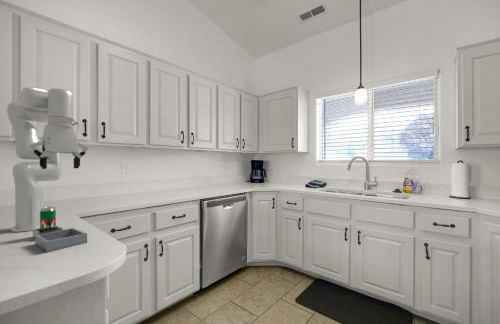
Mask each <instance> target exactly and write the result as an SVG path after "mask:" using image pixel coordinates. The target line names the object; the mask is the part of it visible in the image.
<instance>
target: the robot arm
mask: <svg viewBox="0 0 500 324" xmlns="http://www.w3.org/2000/svg"><path fill="white" fill-rule="evenodd" d="M19 100H20V101H11V102H10V103H8V105H7V106H6V107H7V108H6V113H7V118H8V121H9V123H10V125H11V127H12V129H13V131H14V144H15V145H14V146H15V153H16V156H17V158H18V159H20V160H30V161H20V162H18V163H16V164H14V165H13V167H12V176H13V180H14V181H13V182H14V197H15V199H14V200H15V202H14V203H15V204H14V207H15V208H14V211H15V212H14V215H15V216H14V217H15V218H14V223H15V224H14V226H12V227H10V230H9V231H10V232H13V233H16V232H17V233H20V232H29V231H31V232H32V231H33V230H35V229H40V210H41V208H44V191H43V188H42V187H41V186H40V185H38V184H37V182H51V181H52V182H53V181H57V180H59V179H60V178H61V177H62V163H61V162H62V160H61V154H71V155H72V156H73V157H74V158H73V168H74V169H80V166H81V158H82V157H83V156H84V155H86V153H87V151H88V150H89V147H88V146H86V145H83V144H81V143H80V142H79V138H78V134H77V133H78V132H77V129H76V127H75V126H78V125H79V124H78V121H75V118H74V115H75V114H74V110H75V109H74V107H75V106H74V101H75V100H74V94H73V93H72V92H71V91H70V90H67V89H65V88H64V89H63V88H51V89H44V88H39V87H35V86H34V87H26V86H25V87H23V88H22V89H21V91H20V94H19ZM31 122H39V123H47V124H46V125H44V126H43V130H42V138H41V140H40V134H39V130H38V129H37V128H36V126H34V125H33V124H32V123H31ZM79 148H80V149H81V150H80V152H79ZM33 160H34V161H33ZM35 160H36V161H35ZM38 160H39V161H38Z"/></svg>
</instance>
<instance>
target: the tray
mask: <svg viewBox="0 0 500 324" xmlns="http://www.w3.org/2000/svg"><path fill="white" fill-rule="evenodd" d="M34 239H35V240H34V245H35V246H37V247H38V248H40V249H41V250H42V251H44V252H46V253H50V252H54V251H58V250H62V249H67V248H70V247H75V246H79V245H84V244H87V243H88V233H87V232H84V231H82V230H79V229H77V228H74V227H70V228H65V229H63V230H60V231H55V232H50V233H44V234H39V235H35V238H34Z"/></svg>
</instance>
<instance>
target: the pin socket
mask: <svg viewBox="0 0 500 324" xmlns="http://www.w3.org/2000/svg"><path fill="white" fill-rule="evenodd" d="M60 230H64V229H63V227H60V226H58V225H56V229H55V230H49V231H44V232H40V229H35V230H32V238H34V239H35V235H39V234H44V233H50V232H55V231H60Z"/></svg>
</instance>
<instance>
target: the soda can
mask: <svg viewBox="0 0 500 324" xmlns="http://www.w3.org/2000/svg"><path fill="white" fill-rule="evenodd" d="M56 211H57V210H56V208H55V206H47V207H43V208H41V210H40V232H44V231H49V230H55V229H56V226H57V225H56V221H57V220H56V218H57V216H56V215H57V214H56Z"/></svg>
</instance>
